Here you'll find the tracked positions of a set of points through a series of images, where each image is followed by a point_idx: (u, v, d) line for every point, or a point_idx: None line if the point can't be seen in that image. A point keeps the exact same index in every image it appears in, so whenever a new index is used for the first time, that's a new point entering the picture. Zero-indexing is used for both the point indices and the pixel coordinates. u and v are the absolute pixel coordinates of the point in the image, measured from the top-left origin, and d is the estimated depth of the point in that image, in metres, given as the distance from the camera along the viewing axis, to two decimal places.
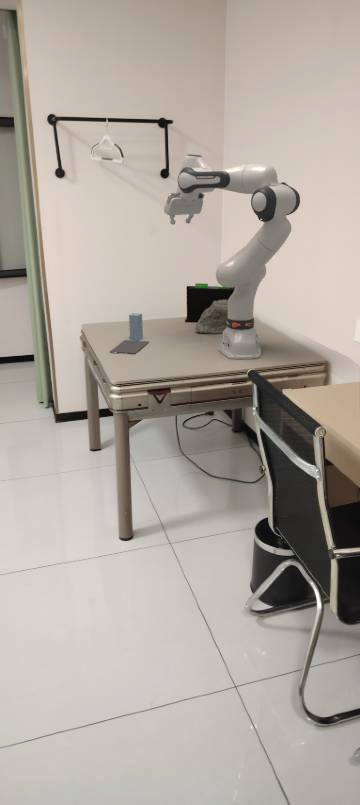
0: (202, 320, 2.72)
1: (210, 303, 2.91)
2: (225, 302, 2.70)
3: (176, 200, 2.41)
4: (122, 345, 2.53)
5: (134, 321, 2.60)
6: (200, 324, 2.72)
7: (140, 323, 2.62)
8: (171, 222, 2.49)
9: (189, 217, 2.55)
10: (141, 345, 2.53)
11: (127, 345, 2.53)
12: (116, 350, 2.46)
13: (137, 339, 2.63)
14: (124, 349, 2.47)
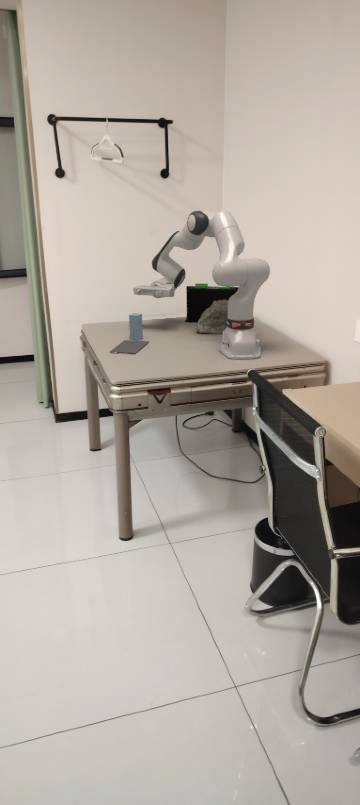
0: (202, 320, 2.72)
1: (210, 303, 2.91)
2: (225, 302, 2.70)
3: None
4: (122, 345, 2.53)
5: (134, 321, 2.60)
6: (200, 324, 2.72)
7: (140, 323, 2.62)
8: None
9: None
10: (141, 345, 2.53)
11: (127, 345, 2.53)
12: (116, 350, 2.46)
13: (137, 339, 2.63)
14: (124, 349, 2.47)
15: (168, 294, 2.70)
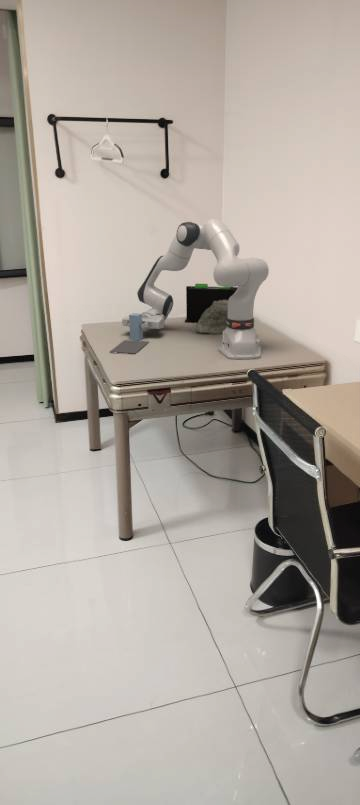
0: (202, 320, 2.72)
1: (210, 303, 2.91)
2: (225, 302, 2.69)
3: None
4: (122, 345, 2.53)
5: (134, 321, 2.60)
6: (200, 324, 2.72)
7: (140, 323, 2.62)
8: None
9: None
10: (141, 345, 2.53)
11: (127, 345, 2.53)
12: (116, 350, 2.46)
13: (137, 339, 2.63)
14: (124, 349, 2.47)
15: (157, 326, 2.63)
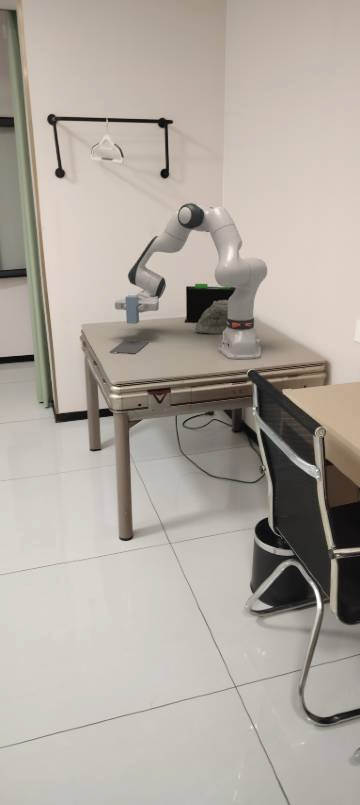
0: (202, 320, 2.72)
1: (210, 303, 2.90)
2: (225, 302, 2.69)
3: (124, 299, 2.62)
4: (122, 345, 2.53)
5: (132, 303, 2.48)
6: (200, 324, 2.72)
7: (137, 305, 2.51)
8: None
9: None
10: (141, 345, 2.53)
11: (127, 345, 2.53)
12: (116, 350, 2.46)
13: (134, 322, 2.51)
14: (124, 349, 2.47)
15: (155, 308, 2.53)
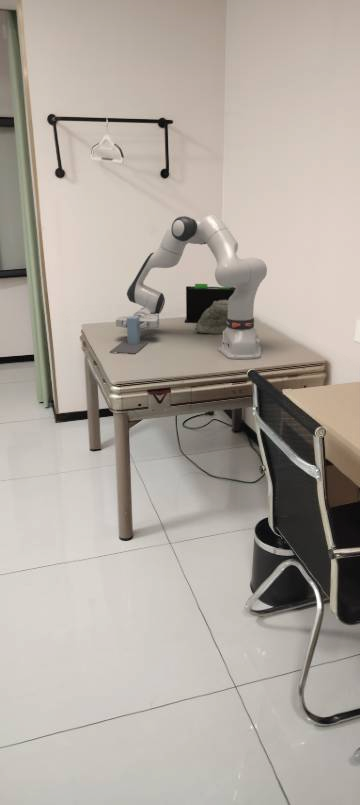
0: (202, 320, 2.72)
1: (210, 303, 2.90)
2: (225, 302, 2.69)
3: (125, 316, 2.65)
4: (122, 345, 2.53)
5: (133, 324, 2.51)
6: (200, 324, 2.72)
7: (138, 326, 2.54)
8: None
9: None
10: (141, 345, 2.53)
11: (127, 345, 2.53)
12: (116, 350, 2.46)
13: (136, 343, 2.54)
14: (124, 349, 2.47)
15: (155, 325, 2.56)
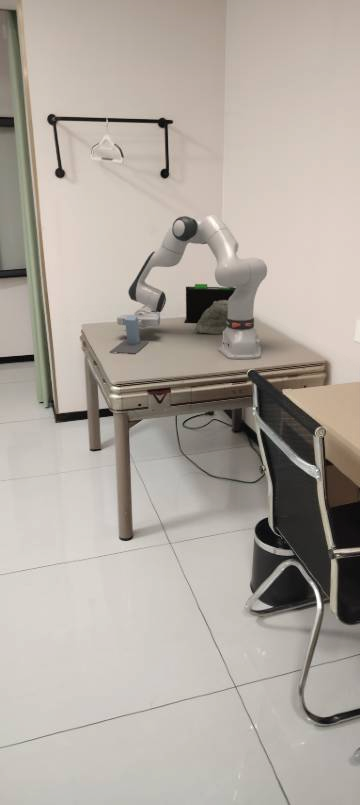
0: (202, 320, 2.72)
1: (210, 304, 2.90)
2: (225, 302, 2.69)
3: None
4: (122, 345, 2.53)
5: (131, 325, 2.50)
6: (200, 324, 2.72)
7: (137, 326, 2.52)
8: None
9: None
10: (141, 345, 2.53)
11: (127, 345, 2.53)
12: (116, 350, 2.46)
13: (135, 343, 2.54)
14: (124, 349, 2.47)
15: (156, 323, 2.57)
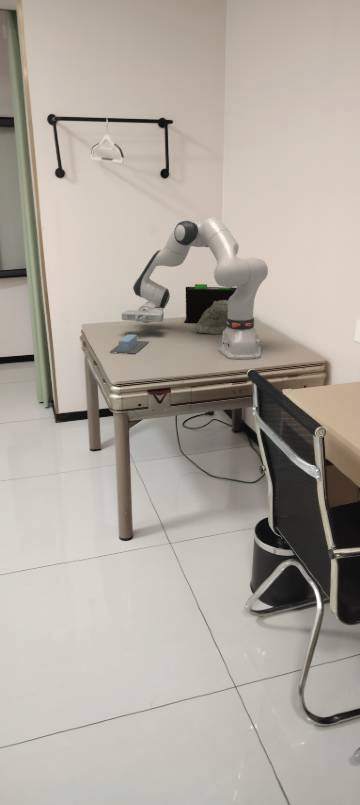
0: (202, 320, 2.72)
1: (210, 304, 2.89)
2: (225, 302, 2.69)
3: (131, 310, 2.73)
4: None
5: None
6: (200, 324, 2.72)
7: (131, 343, 2.46)
8: None
9: None
10: (141, 345, 2.53)
11: None
12: (116, 350, 2.46)
13: None
14: None
15: (160, 319, 2.64)
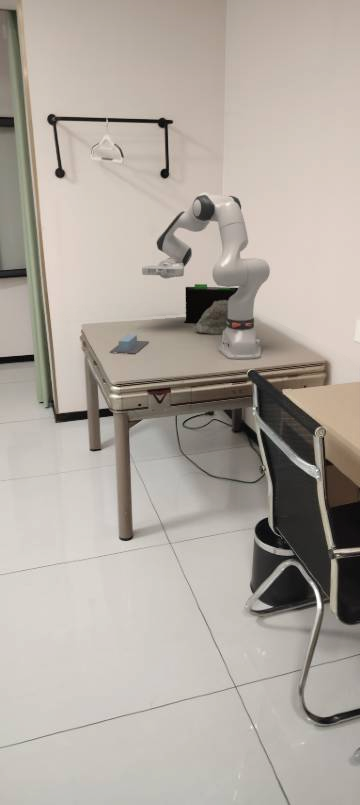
0: (202, 320, 2.72)
1: (209, 304, 2.89)
2: (225, 303, 2.68)
3: None
4: None
5: None
6: (200, 324, 2.72)
7: (131, 343, 2.46)
8: None
9: None
10: (141, 345, 2.53)
11: None
12: (116, 350, 2.46)
13: None
14: None
15: (181, 273, 2.64)
